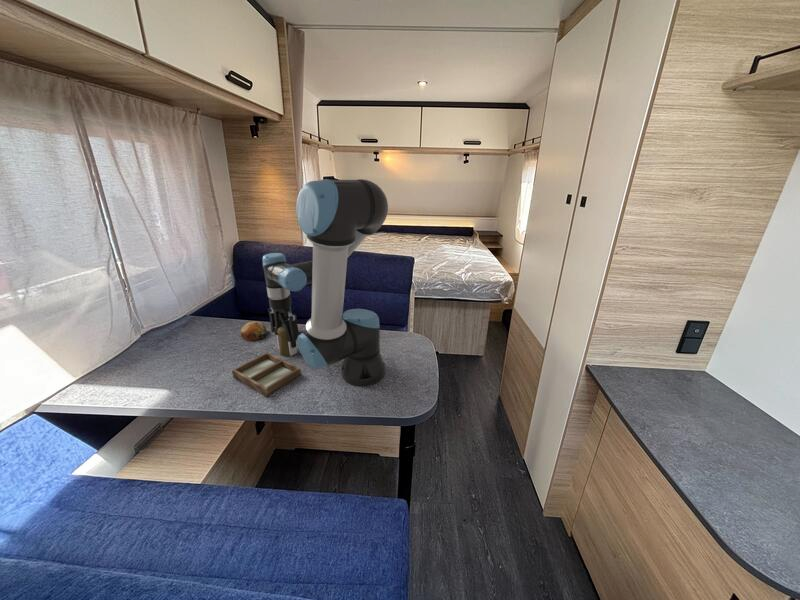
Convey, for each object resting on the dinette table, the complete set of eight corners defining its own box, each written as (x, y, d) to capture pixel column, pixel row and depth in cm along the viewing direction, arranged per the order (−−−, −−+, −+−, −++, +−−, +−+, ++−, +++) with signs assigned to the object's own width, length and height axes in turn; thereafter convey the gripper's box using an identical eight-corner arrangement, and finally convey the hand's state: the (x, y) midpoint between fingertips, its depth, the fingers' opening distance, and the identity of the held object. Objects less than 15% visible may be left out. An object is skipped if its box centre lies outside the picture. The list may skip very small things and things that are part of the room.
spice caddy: (301, 375, 108) (300, 368, 107) (266, 397, 97) (265, 389, 96) (268, 359, 117) (266, 352, 116) (233, 377, 107) (231, 370, 106)
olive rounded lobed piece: (289, 357, 118) (285, 332, 114) (276, 354, 120) (272, 329, 116) (299, 349, 124) (295, 324, 119) (286, 347, 125) (282, 322, 121)
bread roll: (265, 336, 141) (260, 319, 140) (271, 335, 132) (265, 317, 132) (241, 343, 135) (236, 325, 135) (246, 343, 127) (240, 324, 126)
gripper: (305, 298, 111) (312, 354, 120) (271, 288, 121) (280, 340, 129) (288, 305, 105) (296, 363, 114) (254, 293, 115) (264, 348, 124)
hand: (287, 351), depth 122 cm, fingers closed on olive rounded lobed piece, 6 cm apart
